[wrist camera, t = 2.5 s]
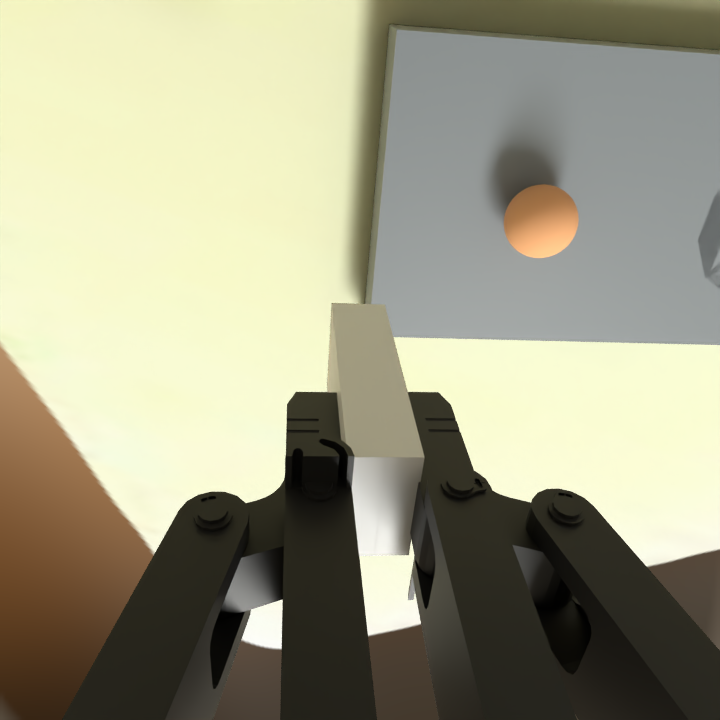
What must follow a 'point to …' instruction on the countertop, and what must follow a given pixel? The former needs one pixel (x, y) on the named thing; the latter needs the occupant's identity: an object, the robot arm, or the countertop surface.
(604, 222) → the plate
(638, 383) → the countertop surface
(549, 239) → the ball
